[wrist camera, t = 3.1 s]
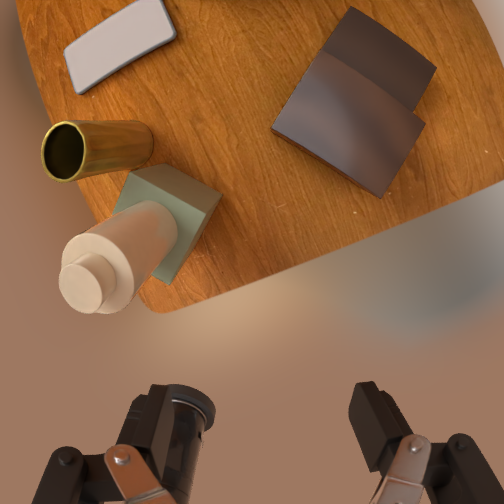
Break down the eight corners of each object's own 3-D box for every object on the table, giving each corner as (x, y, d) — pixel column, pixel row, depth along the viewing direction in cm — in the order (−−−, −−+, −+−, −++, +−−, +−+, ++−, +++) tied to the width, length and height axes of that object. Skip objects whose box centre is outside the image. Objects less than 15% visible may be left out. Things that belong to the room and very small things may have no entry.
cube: (192, 250, 38) (169, 285, 29) (138, 219, 37) (100, 245, 28) (223, 194, 36) (206, 214, 26) (164, 162, 35) (129, 171, 25)
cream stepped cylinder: (163, 269, 28) (107, 345, 17) (114, 241, 28) (39, 299, 16) (188, 219, 27) (133, 276, 15) (134, 189, 26) (53, 226, 15)
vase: (152, 116, 33) (89, 107, 19) (155, 166, 35) (94, 184, 22) (108, 124, 33) (34, 124, 20) (112, 172, 35) (40, 192, 22)
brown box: (358, 186, 34) (381, 199, 27) (270, 131, 33) (270, 128, 25) (426, 71, 29) (459, 60, 21) (345, 14, 27) (362, -13, 20)
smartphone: (61, 49, 29) (156, -11, 26) (65, 51, 29) (159, -9, 27) (76, 97, 31) (177, 36, 28) (80, 97, 32) (179, 38, 29)
